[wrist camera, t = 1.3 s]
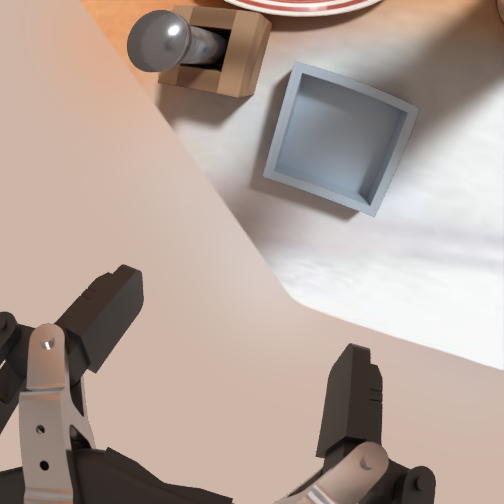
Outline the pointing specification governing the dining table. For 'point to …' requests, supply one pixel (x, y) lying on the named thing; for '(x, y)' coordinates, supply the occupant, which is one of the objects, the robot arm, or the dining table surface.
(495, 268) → the dining table surface
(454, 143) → the dining table surface
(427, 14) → the dining table surface
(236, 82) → the block
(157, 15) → the pin
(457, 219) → the dining table surface
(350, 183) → the tray
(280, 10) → the dinner plate
